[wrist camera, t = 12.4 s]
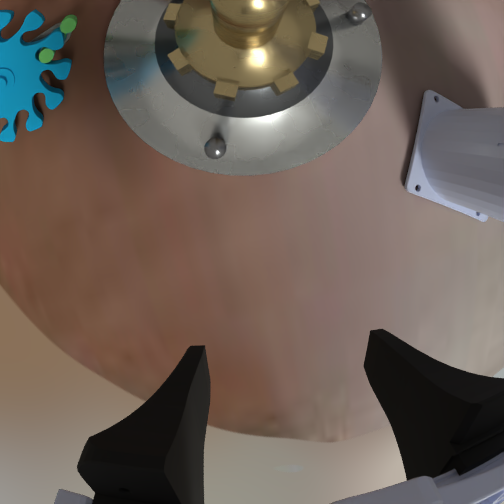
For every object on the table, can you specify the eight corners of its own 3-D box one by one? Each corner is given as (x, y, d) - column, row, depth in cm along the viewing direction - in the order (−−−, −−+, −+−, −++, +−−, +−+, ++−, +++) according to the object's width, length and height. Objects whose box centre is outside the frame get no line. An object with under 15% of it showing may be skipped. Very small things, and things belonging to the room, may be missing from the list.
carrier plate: (388, -15, 15) (402, -27, 12) (345, 202, 20) (359, 209, 18) (154, -63, 12) (147, -79, 10) (84, 151, 18) (67, 153, 16)
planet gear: (333, -4, 14) (370, -50, 8) (302, 119, 17) (336, 106, 11) (193, -34, 13) (180, -90, 7) (149, 86, 16) (110, 60, 10)
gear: (-10, 171, 16) (-84, 87, 7) (3, 129, 19) (-54, 55, 10) (109, 87, 17) (47, -32, 8) (106, 59, 19) (60, -35, 10)
